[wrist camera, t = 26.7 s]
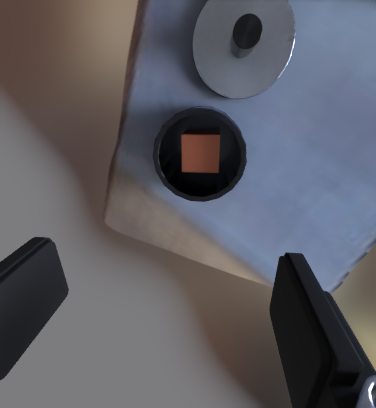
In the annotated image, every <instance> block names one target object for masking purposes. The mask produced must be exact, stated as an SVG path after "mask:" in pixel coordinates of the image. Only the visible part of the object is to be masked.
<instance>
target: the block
mask: <svg viewBox="0 0 376 408" xmlns="http://www.w3.org/2000/svg"><path fill="white" fill-rule="evenodd" d="M181 145H182V172H202V173H218V172H219V152H220V130H186V131H185V132H184V133H183V134H182V135H181Z"/></svg>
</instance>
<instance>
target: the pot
mask: <svg viewBox="0 0 376 408" xmlns="http://www.w3.org/2000/svg"><path fill="white" fill-rule="evenodd" d="M186 130H220V152H219V172H218V173H202V172H182V145H181V135H182V134H183V133H184V132H185V131H186ZM153 160H154V165H155V169H156V172H157V174H158V176H159V177H160V179H161V181H162V182H163V184H164V185H165V186H166V187H167V188H168V189H169V190H170V191H172V192H173V193H174V194H175V195H177V196H179V197H182V198H184V199H187V200H190V201H202V202H204V201H209V200H213V199H217V198H220V197H221V196H223V195H224V194H226V193H227V192H229V191H231V190H232V189H233V188H234V187H235V185H236V184H237V183H238V181H239V180H240V179H241V177H242V175H243V172H244V169H245V166H246V163H247V151H246V143H245V141H244V138H243V136H242V134H241V131H240V129H239V128H238V126H237V125H236V124H235V122H234V121H233V120H232V119H231V118H230V117H229V116H228V115H227V114H226V113H225V112H222V111H220V110H218V109H216V108H213V107H202V106H198V107H194V108H191V109H188V110H186V111H183V112H180V113H177V114H175V115H174V116H173V117H172V118H171V119H170V120H168V121H167V122H166V123H165V124H164V125H163V126H162V128H161V130H160V132H159V133H158V135H157V137H156V139H155V144H154V151H153Z"/></svg>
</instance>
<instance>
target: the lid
mask: <svg viewBox="0 0 376 408" xmlns="http://www.w3.org/2000/svg"><path fill="white" fill-rule="evenodd" d="M294 41H295V21H294V15H293V12H292V9H291V6H290V4H289V2H288V0H208V1H207V2H206V4H205V5H204V7H203V9H202V10H201V12H200V14H199V17H198V19H197V22H196V25H195V29H194V33H193V57H194V62H195V65H196V68H197V71H198V73H199V75H200V77H201V78H202V80H203V81H204V83H205V84H206V85H207V86H208V87H209V88H210V89H211V90H212V91H214V92H215V93H217V94H219V95H221V96H223V97H227V98H232V99H243V98H249V97H252V96H255V95H257V94H259V93H261V92H263V91H264V90H266V89H267V88H269V87H270V86H271V85H272V84H273V83H274V82H275V81H276V80H277V79H278V78H279V77H280V75H281V74H282V72H283V71H284V69H285V68H286V66H287V64H288V62H289V59H290V57H291V54H292V51H293V47H294Z"/></svg>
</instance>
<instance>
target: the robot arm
mask: <svg viewBox="0 0 376 408" xmlns="http://www.w3.org/2000/svg"><path fill="white" fill-rule="evenodd" d="M67 295H68V285H67V282H66V279H65V275H64V272H63V269H62V266H61V262H60V259H59V256H58V252H57V249H56V245H55V243H54V242H52V240H51V239H50V238H44V237H34V238H32V239H31V240H29V241H28V242H27V243H26V244H24V245H23V246H21V247H20V248H19V249H17V250H16V251H15V252H13V253H12V254H11V255H9V256H8V257H7V258H5V259H4V260H3V261H1V262H0V380H2V379H3V378H4V377H5V376H6V375H7V374H8V373H9V371H10V370H11V369H12V368H13V366H14V365H15V364H16V362H17V361H18V360H19V358H20V357H21V356H22V354H23V353H24V352H25V351H26V349H27V348H28V347H29V345H30V344H31V343H32V341H33V340H34V339H35V337H36V336H37V335H38V334H39V332H40V331H41V330H42V328H43V327H44V326H45V324H46V323H47V322H48V320H49V319H50V318H51V317H52V315H53V314H54V313H55V311H56V310H57V309H58V307H59V306H60V305H61V303H62V302H63V301H64V300H65V298H66V297H67ZM270 316H271V321H272V325H273V329H274V333H275V337H276V341H277V345H278V350H279V354H280V358H281V362H282V366H283V370H284V373H285V378H286V382H287V386H288V390H289V394H290V398H291V403H292V407H293V408H376V371H375V369H374V367H373V366H372V364H371V362H370V361H369V359H368V357H367V355H366V354H365V352H364V351H363V349H362V347H361V345H360V344H359V342H358V340H357V338H356V337H355V335H354V333H353V331H352V330H351V328H350V326H349V325H348V323H347V321H346V320H345V318H344V316H343V314H342V313H341V311H340V309H339V307H338V306H337V304H336V303H335V301H334V299H333V297H332V296H331V294H330V293H328V292H327V291H323V290H322V288H321V286H320V284H319V282H318V281H317V279H316V277H315V275H314V273H313V272H312V270H311V268H310V266H309V264H308V262H307V261H306V259H305V257H304V255H303V254H301V253H285V255H284V256H280V257H279V262H278V267H277V272H276V277H275V282H274V287H273V292H272V298H271V303H270Z"/></svg>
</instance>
